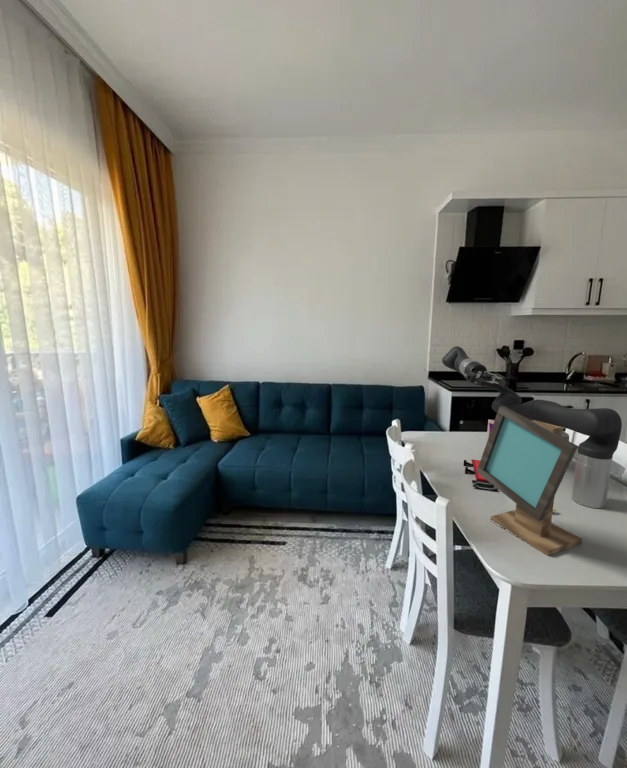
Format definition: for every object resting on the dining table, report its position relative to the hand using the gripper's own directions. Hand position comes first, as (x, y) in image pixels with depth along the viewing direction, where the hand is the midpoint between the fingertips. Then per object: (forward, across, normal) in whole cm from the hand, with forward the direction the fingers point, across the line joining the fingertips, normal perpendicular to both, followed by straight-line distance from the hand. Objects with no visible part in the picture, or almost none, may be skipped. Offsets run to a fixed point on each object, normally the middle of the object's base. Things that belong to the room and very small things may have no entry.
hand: (495, 384), depth 127 cm
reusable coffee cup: (-6, -41, -39) cm, 57 cm away
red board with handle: (+2, -6, -40) cm, 41 cm away
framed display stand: (+40, +4, -31) cm, 51 cm away
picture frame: (+34, +10, -22) cm, 41 cm away
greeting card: (-24, -31, -44) cm, 59 cm away
